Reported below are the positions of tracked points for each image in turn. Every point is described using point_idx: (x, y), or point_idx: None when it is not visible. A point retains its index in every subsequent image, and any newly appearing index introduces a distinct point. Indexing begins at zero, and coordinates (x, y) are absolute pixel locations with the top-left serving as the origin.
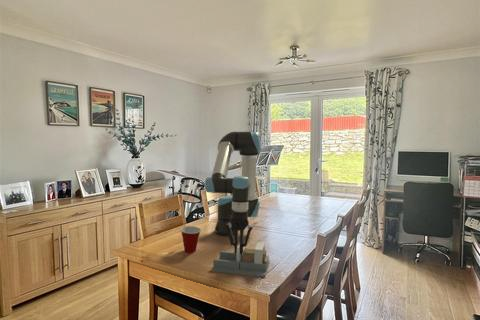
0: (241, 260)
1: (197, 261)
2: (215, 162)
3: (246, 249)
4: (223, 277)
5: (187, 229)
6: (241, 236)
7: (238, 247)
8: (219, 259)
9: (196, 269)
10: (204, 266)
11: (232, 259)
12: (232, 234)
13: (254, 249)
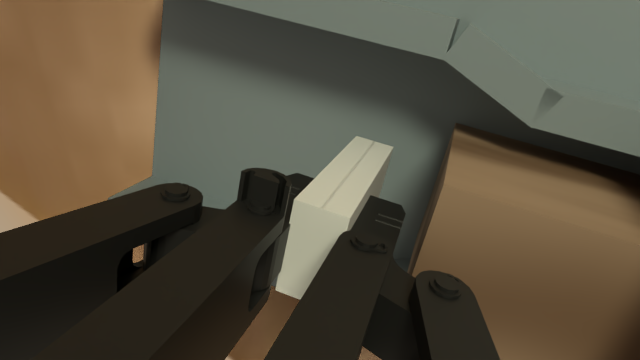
0: (419, 55)
1: (11, 26)
2: None
3: (462, 254)
4: (259, 330)
5: None
6: None
7: (304, 289)
8: (171, 33)
9: (56, 184)
10: (91, 133)
11: (308, 28)
12: (7, 297)
13: (636, 272)
